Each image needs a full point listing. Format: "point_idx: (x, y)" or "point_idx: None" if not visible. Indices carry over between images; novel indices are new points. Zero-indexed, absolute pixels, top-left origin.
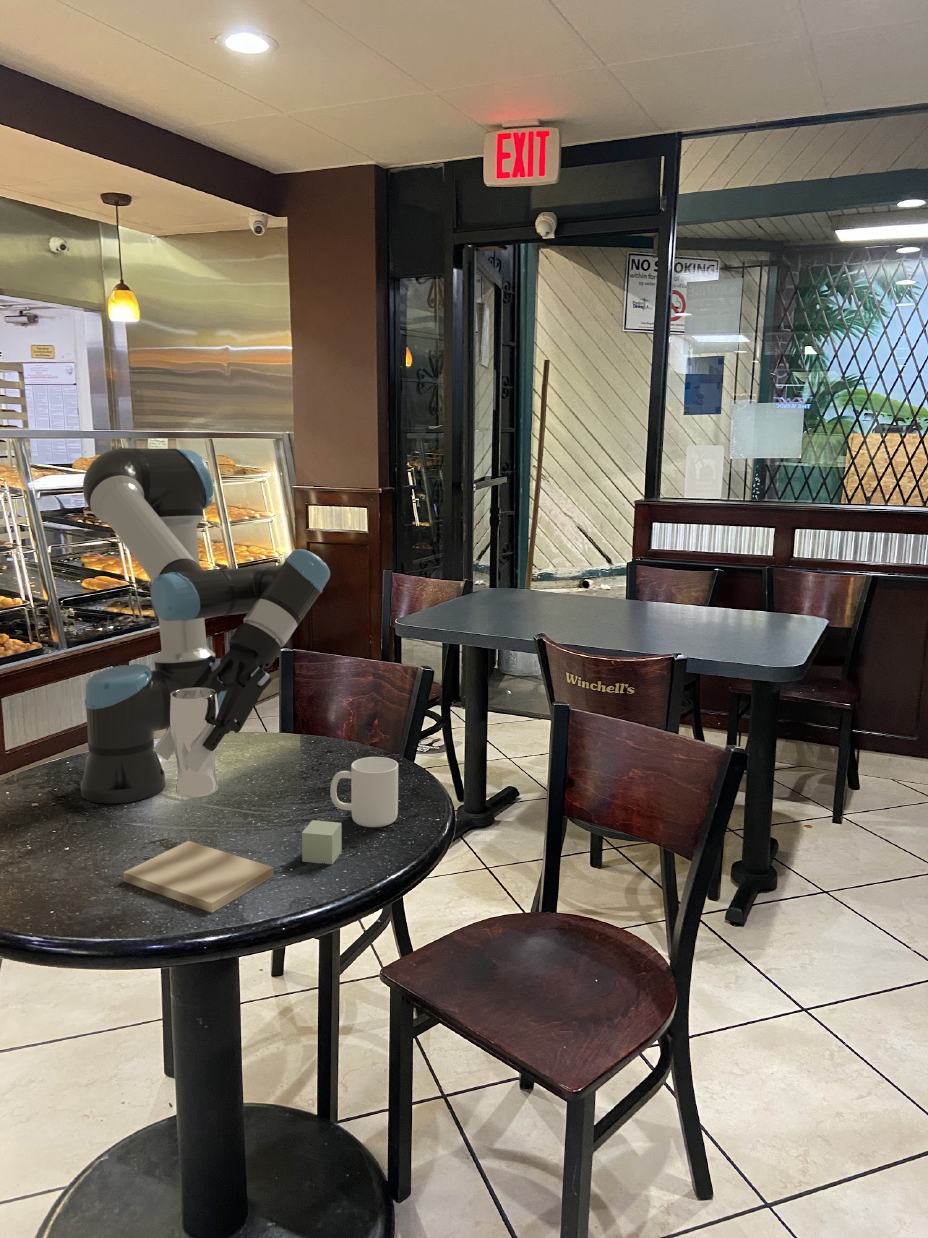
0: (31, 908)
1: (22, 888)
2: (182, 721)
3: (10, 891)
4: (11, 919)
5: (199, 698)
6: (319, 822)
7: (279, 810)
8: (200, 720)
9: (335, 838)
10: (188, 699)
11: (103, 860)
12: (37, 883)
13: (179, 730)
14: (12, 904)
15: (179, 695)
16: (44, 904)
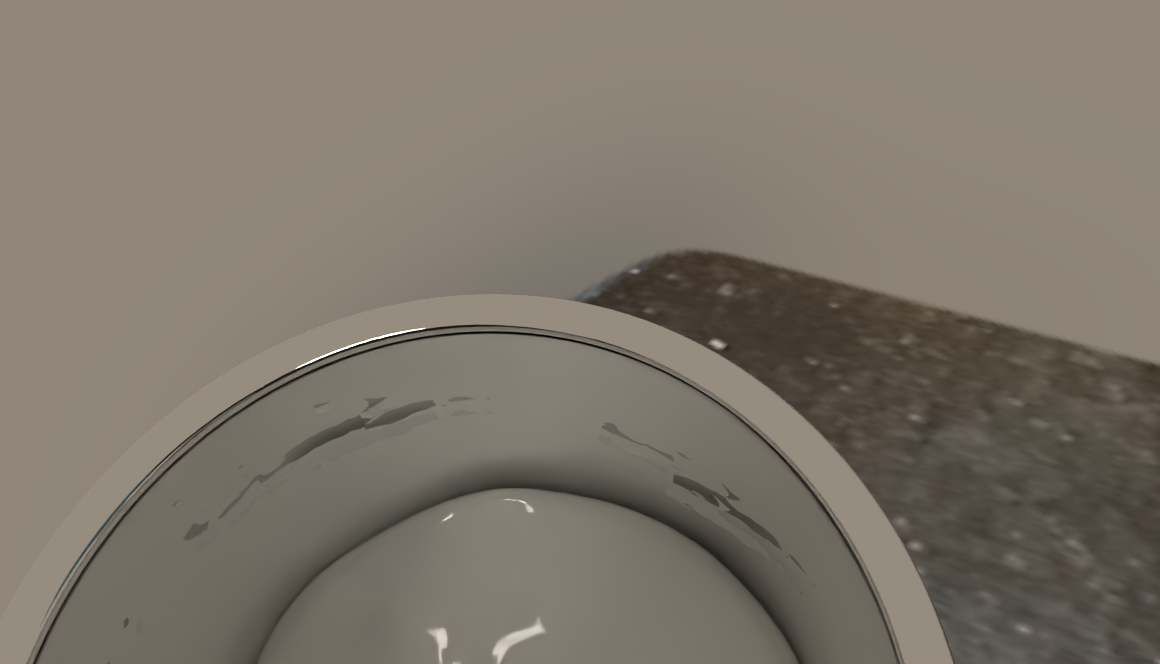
0: (776, 312)
1: (928, 333)
2: (369, 480)
3: (927, 304)
4: (745, 259)
5: (25, 586)
6: None
7: None
8: (196, 662)
9: None
10: (170, 413)
11: (1010, 607)
12: (939, 374)
13: (436, 501)
14: (835, 285)
15: (876, 639)
16: (778, 343)
